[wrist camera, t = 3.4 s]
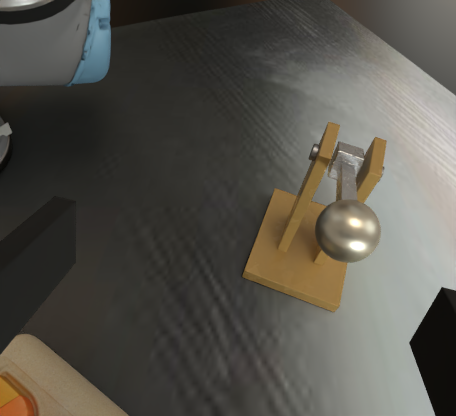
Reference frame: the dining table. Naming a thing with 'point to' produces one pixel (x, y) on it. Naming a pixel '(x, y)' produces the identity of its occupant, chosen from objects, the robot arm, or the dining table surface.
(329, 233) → the tap lever
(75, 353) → the dining table surface
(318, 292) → the wooden lever stand
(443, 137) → the dining table surface
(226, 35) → the dining table surface
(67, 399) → the puzzle board
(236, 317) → the dining table surface
